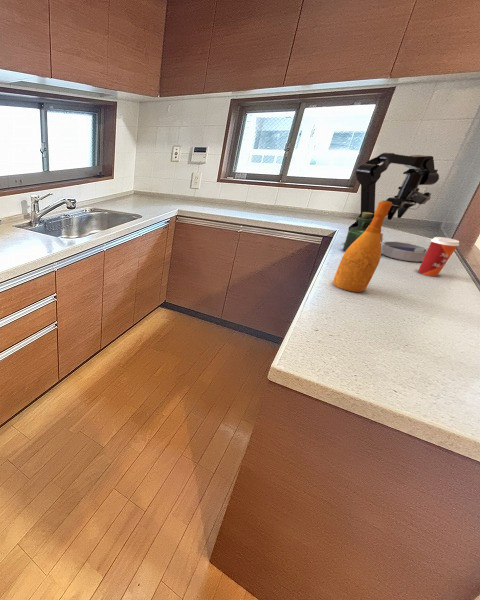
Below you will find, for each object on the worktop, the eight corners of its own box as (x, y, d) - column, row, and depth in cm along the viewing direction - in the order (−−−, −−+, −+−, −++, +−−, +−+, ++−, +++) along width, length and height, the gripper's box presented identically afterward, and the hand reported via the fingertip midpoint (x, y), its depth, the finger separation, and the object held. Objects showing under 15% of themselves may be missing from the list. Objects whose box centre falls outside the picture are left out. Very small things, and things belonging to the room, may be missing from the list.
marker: (388, 246, 149) (423, 249, 139) (391, 245, 150) (427, 247, 140) (387, 252, 150) (422, 256, 140) (390, 251, 151) (425, 254, 141)
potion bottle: (355, 255, 146) (373, 215, 138) (336, 250, 153) (352, 211, 145) (365, 253, 150) (383, 214, 141) (346, 248, 156) (362, 210, 148)
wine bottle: (367, 295, 109) (411, 205, 95) (332, 288, 114) (369, 201, 100) (363, 285, 117) (403, 200, 103) (330, 279, 121) (364, 196, 107)
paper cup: (436, 278, 124) (456, 243, 118) (410, 271, 130) (428, 237, 124) (444, 275, 127) (464, 240, 121) (419, 268, 133) (437, 235, 127)
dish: (414, 264, 138) (420, 254, 135) (371, 253, 150) (375, 243, 148) (431, 259, 144) (437, 249, 142) (388, 248, 157) (393, 239, 155)
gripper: (423, 188, 139) (405, 224, 146) (442, 186, 147) (424, 220, 154) (391, 185, 148) (376, 219, 155) (411, 183, 156) (395, 215, 163)
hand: (394, 218), depth 157 cm, fingers open, 9 cm apart
